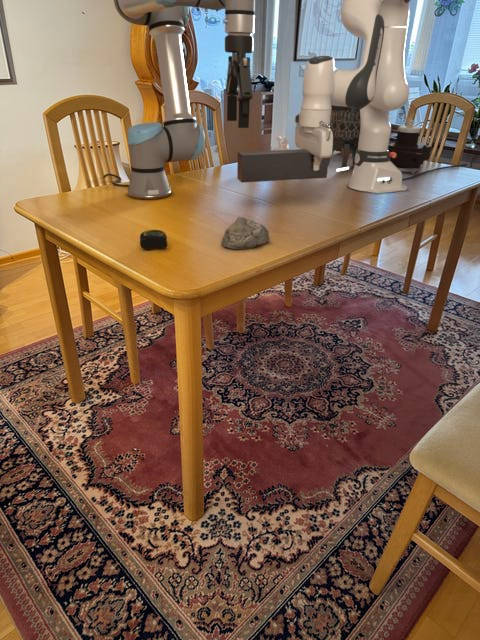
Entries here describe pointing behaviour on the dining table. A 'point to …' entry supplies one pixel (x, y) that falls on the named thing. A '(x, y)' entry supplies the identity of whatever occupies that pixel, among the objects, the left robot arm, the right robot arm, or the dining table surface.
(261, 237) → the rock
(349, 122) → the planter
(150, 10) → the left robot arm
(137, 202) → the dining table surface
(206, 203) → the dining table surface
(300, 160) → the bar
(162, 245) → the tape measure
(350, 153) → the toy
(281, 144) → the figurine
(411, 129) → the mechanical component
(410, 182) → the dining table surface
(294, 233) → the dining table surface
